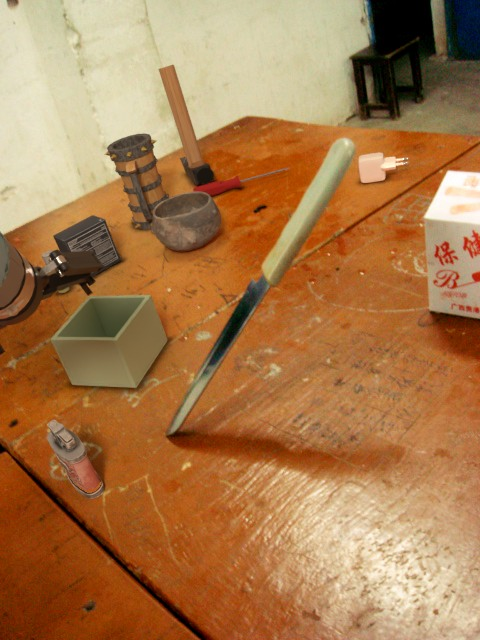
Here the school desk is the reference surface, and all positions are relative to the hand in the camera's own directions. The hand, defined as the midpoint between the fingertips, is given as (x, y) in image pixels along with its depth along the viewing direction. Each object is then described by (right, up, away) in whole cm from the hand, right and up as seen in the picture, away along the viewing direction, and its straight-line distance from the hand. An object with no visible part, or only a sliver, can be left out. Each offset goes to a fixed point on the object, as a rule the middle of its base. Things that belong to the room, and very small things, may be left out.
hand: (41, 315), depth 85 cm
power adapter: (+60, +32, +62) cm, 92 cm away
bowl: (+16, +16, +57) cm, 61 cm away
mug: (+5, +23, +72) cm, 76 cm away
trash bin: (+6, -8, +25) cm, 27 cm away
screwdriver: (+27, +33, +78) cm, 89 cm away
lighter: (+5, -23, +3) cm, 24 cm away
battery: (-11, +6, +53) cm, 54 cm away
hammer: (+15, +38, +91) cm, 100 cm away
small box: (-6, +11, +58) cm, 60 cm away
